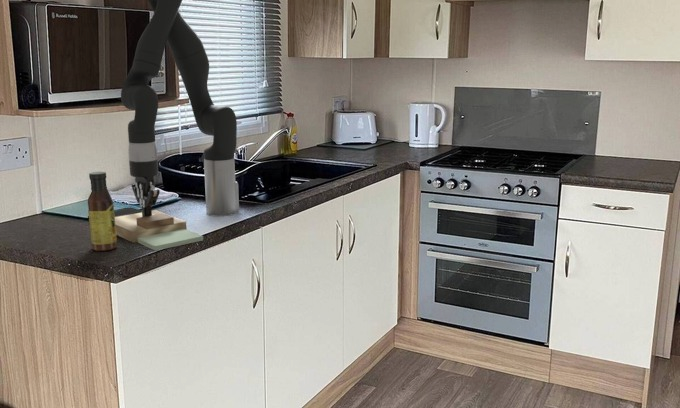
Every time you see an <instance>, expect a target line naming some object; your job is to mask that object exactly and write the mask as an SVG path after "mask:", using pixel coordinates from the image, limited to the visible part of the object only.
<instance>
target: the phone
mask: <svg viewBox="0 0 680 408" xmlns="http://www.w3.org/2000/svg"><path fill="white" fill-rule="evenodd" d="M136 213H142V209H137V208H134V207H131V206H130V207H122V208H118V209H114V215H115V217H119V216H124V215H130V214H136ZM88 218H89V215H87V219H88Z"/></svg>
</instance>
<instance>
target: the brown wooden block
mask: <svg viewBox="0 0 680 408" xmlns="http://www.w3.org/2000/svg"><path fill="white" fill-rule="evenodd" d="M166 214H167V213H165V214H164V212H162V214H156V215H151V216H145V217H140V218H136V219H137V225H138V226H140V227H142V228H145V229H152V228H157V227H163V226H168V225H173V224H174V217H175V216H173V217H171V216H172V215H170V214H168V215H166ZM169 215H170V216H169Z"/></svg>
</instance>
